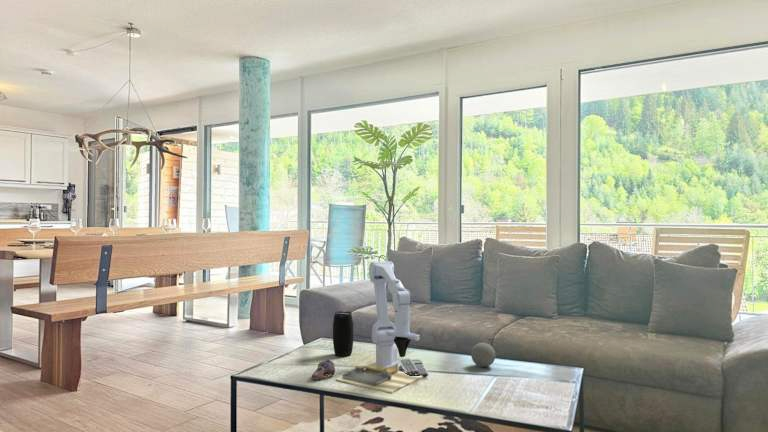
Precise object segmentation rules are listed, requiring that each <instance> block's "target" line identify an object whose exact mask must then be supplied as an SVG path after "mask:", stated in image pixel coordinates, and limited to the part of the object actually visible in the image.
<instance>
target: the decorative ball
mask: <svg viewBox="0 0 768 432" xmlns="http://www.w3.org/2000/svg"><path fill="white" fill-rule="evenodd" d="M470 354H471V355H470V356H471V359H472V362H473V363H474V364H475V365H476V366H478V367H480V368H487V367H490V366H491V365H493V363H494V362H495V360H496V351H495V349H494V347H493V346H492V345H490V344H489V343H486V342H478V343H476V344H475V345H474V346H473V347H472V349H471V353H470Z"/></svg>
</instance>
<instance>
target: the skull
mask: <svg viewBox="0 0 768 432" xmlns="http://www.w3.org/2000/svg"><path fill="white" fill-rule="evenodd" d="M335 372H336V368H335V363H334V362H333V361H332V360H331V359H326V360H322V361H319V363H318V364H317V368H316V369H315V371H313V373H312V375H311V376H310V380H312V379H314V380H316V382H318V380H319V381H324V380H325V379H328V378H330V377H333V376H334V375H335Z"/></svg>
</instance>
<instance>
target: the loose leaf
mask: <svg viewBox="0 0 768 432" xmlns="http://www.w3.org/2000/svg"><path fill="white" fill-rule="evenodd" d="M398 366H399V365H398V364H395V365H393V366H391V367H384V366H378V365H372V364H371V365H367V366H365V367H366V368H365V367H364V370H366V371H371V372H376V373H381V374H382V372H384V371H385V372H390V373H391V375H393V374H395V373H397V372H398V371H399V367H398Z"/></svg>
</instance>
